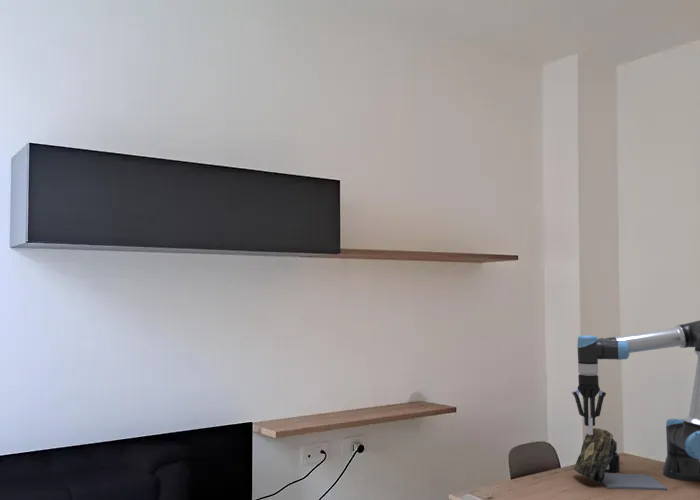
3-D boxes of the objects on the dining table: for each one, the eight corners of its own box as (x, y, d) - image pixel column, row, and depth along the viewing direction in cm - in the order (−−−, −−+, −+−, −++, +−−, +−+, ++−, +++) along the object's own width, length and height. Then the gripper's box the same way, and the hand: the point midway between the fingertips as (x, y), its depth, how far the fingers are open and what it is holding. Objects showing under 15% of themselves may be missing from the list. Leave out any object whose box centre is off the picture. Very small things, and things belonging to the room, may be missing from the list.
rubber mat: (648, 476, 260) (648, 474, 260) (667, 490, 241) (667, 488, 241) (592, 474, 262) (592, 472, 262) (607, 488, 243) (607, 486, 243)
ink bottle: (593, 467, 274) (593, 438, 275) (613, 467, 274) (613, 438, 275) (603, 473, 264) (602, 443, 265) (624, 473, 265) (623, 443, 265)
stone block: (606, 488, 244) (628, 441, 247) (587, 477, 242) (610, 430, 245) (579, 474, 262) (601, 430, 264) (562, 464, 260) (583, 420, 263)
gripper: (602, 373, 258) (603, 432, 256) (569, 373, 259) (570, 431, 257) (607, 375, 251) (609, 436, 249) (574, 375, 252) (575, 435, 250)
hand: (590, 434), depth 253 cm, fingers closed
